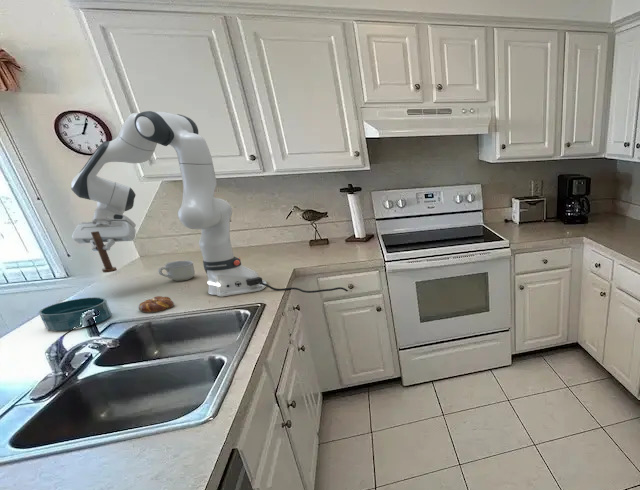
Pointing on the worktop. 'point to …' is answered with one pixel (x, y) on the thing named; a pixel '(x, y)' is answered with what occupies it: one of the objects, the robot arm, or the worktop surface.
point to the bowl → (73, 313)
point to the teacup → (178, 270)
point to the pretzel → (156, 304)
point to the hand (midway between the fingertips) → (100, 250)
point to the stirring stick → (102, 252)
